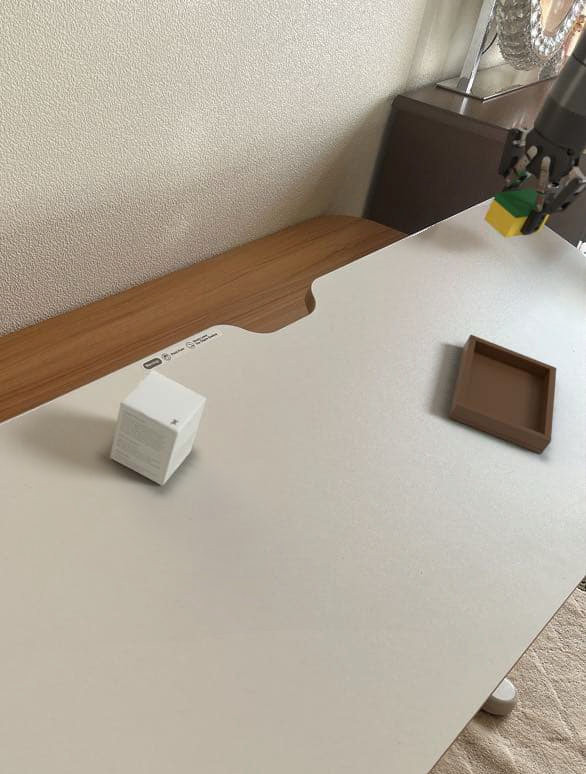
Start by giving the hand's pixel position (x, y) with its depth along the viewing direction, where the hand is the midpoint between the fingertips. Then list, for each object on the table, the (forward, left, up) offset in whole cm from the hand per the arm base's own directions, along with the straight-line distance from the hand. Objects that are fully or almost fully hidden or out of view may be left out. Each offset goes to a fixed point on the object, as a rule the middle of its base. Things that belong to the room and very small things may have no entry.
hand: (513, 222), depth 123 cm
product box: (+48, +52, -5) cm, 71 cm away
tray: (+7, +33, -5) cm, 34 cm away
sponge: (0, 0, -1) cm, 1 cm away
